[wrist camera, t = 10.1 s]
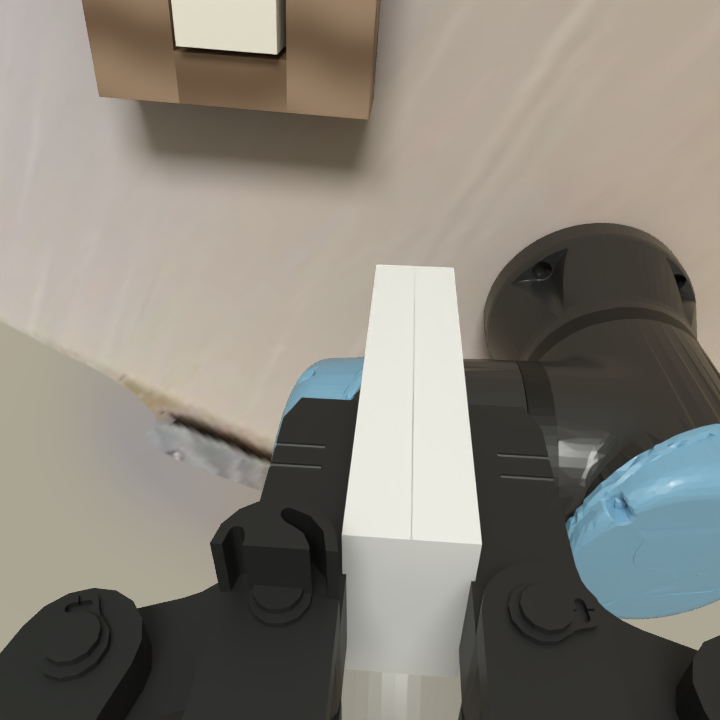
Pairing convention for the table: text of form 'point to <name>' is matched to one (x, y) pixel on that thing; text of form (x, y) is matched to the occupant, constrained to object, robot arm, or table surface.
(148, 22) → the wooden button box
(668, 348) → the robot arm
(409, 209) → the table surface
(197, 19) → the button
